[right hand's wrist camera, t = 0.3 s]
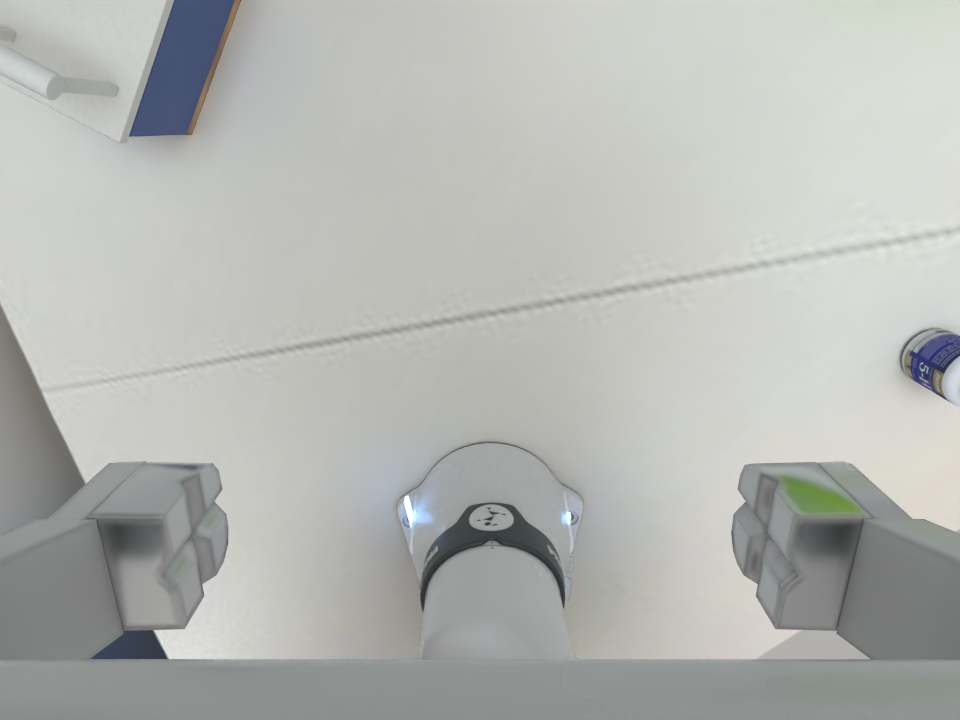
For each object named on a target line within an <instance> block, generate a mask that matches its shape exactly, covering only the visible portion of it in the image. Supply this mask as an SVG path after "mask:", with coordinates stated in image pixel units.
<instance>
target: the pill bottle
mask: <svg viewBox="0 0 960 720" xmlns="http://www.w3.org/2000/svg"><path fill="white" fill-rule="evenodd" d="M902 366H903V369H904V372H905V373H906V374H907V376H908V377H910V378H911V379H912V380H914V381H916V382H917V383H919V384H921V385H922V386H924V387H926V388H927V389H929V390H931V391H932V392H934V393H936V394H937V395H939V396H941V397H942V398H944V399H946V400H947V401H949V402H951V403H952V404H954V405H956V406H959V407H960V336H959V335H956V334H954V333H952V332H949V331H947V330H942V329H933V330H928V331H925V332H923V333H921V334H919V335H918V336H916V337H915V338H914V339H912V340H911V341H910V343H909V344H908V345H907V347H906V348H905V350H904V353H903V356H902Z"/></svg>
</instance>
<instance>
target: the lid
mask: <svg viewBox="0 0 960 720" xmlns="http://www.w3.org/2000/svg"><path fill="white" fill-rule="evenodd" d="M173 2H174V0H0V82H2V83H4V84H6V85H8V86H10V87H12V88H14V89H16V90H18V91H20V92H22V93H24V94H25V95H27V96H29V97H31V98H33V99H35V100H37V101H39V102H41V103H43V104H45V105H47V106H49V107H51V108H52V109H54V110H56V111H58V112H60V113H62V114H64V115H66V116H68V117H70V118H72V119H74V120H76V121H78V122H79V123H81V124H83V125H85V126H87V127H89V128H91V129H93V130H95V131H97V132H99V133H101V134H103V135H105V136H106V137H108V138H110V139H112V140H114V141H116V142H118V143H126V142H127V140H128V137H129V134H130V131H131V128H132V125H133V122H134V119H135V116H136V113H137V110H138V107H139V104H140V101H141V98H142V95H143V92H144V89H145V86H146V83H147V80H148V77H149V74H150V71H151V68H152V65H153V62H154V59H155V56H156V53H157V50H158V47H159V44H160V41H161V38H162V35H163V32H164V29H165V26H166V23H167V20H168V17H169V14H170V11H171V8H172V5H173Z"/></svg>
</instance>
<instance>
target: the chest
mask: <svg viewBox="0 0 960 720" xmlns="http://www.w3.org/2000/svg"><path fill="white" fill-rule="evenodd" d="M240 1H241V0H174V2H173V5H172V8H171V11H170V14H169V17H168V20H167V23H166V26H165V29H164V32H163V35H162V38H161V41H160V44H159V47H158V50H157V53H156V56H155V59H154V62H153V65H152V68H151V71H150V74H149V77H148V80H147V83H146V86H145V89H144V92H143V95H142V98H141V101H140V104H139V107H138V110H137V113H136V116H135V119H134V122H133V125H132V128H131V131H130V134H129V137H131V136H158V135H184V134H186V135H192V132H193V130H194V127H195V124H196V121H197V119H198V116H199V113H200V110H201V108H202V105H203V102H204V99H205V97H206V94H207V91H208V89H209V86H210V83H211V80H212V78H213V75H214V72H215V69H216V67H217V64H218V61H219V58H220V56H221V53H222V50H223V47H224V45H225V42H226V39H227V37H228V34H229V31H230V28H231V26H232V23H233V20H234V17H235V15H236V12H237V9H238V6H239V4H240Z"/></svg>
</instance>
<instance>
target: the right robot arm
mask: <svg viewBox="0 0 960 720" xmlns="http://www.w3.org/2000/svg"><path fill="white" fill-rule="evenodd" d="M221 490H222V485H221V480H220V475H219V470H218V469H217V468H216V467H215V466H214V465H213V463H164V462H149V463H147V462H116V463H109V464H108V465H107V466H106V467H104V468H103V469H102V470H101V471H100V472H99V473H98V474H97V475H96V476H94V477H93V478H92V479H91V480H90V481H89V482H88V483H87V484H86V485H84V486H83V487H82V488H81V489H80V490H79V491H78V492H77V493H76V494H74V495H73V496H72V497H71V498H70V499H69V500H68V501H67V502H66V503H65V504H63V505H62V506H61V507H60V508H59V509H58V510H57V511H56V512H55V513H53V514H52V515H51V516H50V517H49V518H48V519H35V520H33V521H30V522H28V523H26V524H23V525H21V526H18V527H16V528H13V529H11V530H8V531H6V532H3V533H1V534H0V720H960V534H959V533H957V532H954V531H952V530H949V529H947V528H944V527H942V526H939V525H937V524H934V523H932V522H930V521H927V520H925V519H912V518H911V517H910V516H909V515H908V514H907V513H906V512H904V511H903V510H902V509H901V508H900V507H899V506H898V505H897V504H896V503H894V502H893V501H892V500H891V499H890V498H889V497H888V496H887V495H886V494H885V493H883V492H882V491H881V490H880V489H879V488H878V487H877V486H876V485H875V484H873V483H872V482H871V481H870V480H869V479H868V478H867V477H866V476H865V475H863V474H862V473H861V472H860V471H859V470H858V469H857V468H856V467H855V466H854V465H852V464H850V463H847V462H843V461H840V462H817V463H816V462H802V463H760V464H748V465H744V468H743V470H742V472H741V474H740V479H739V485H738V490H739V492H740V493H741V495H742V497H743V498H744V500H745V501H746V502H745V503H744V504H743V505H742V506H741V507H740V508H739V509H738V510H737V511H736V512H735V513H734V516H733V524H732V532H731V534H732V544H733V552H734V555H735V558H736V561H737V564H738V566H739V568H740V569H741V571H742V573H743V575H744V576H746V577H747V578H749V579H751V580H752V581H754V582H755V583H757V584H758V587H757V592H756V597H757V599H758V600H759V602H760V604H761V605H762V607H763V609H764V610H765V612H766V614H767V615H768V617H769V619H770V620H771V622H772V624H773V626H774V627H775V629H793V630H830V631H837V634H838V635H839V636H841V637H842V638H844V639H845V640H846V641H847V642H849V643H850V644H851V645H853V646H854V647H855V648H857V649H858V650H859V651H861V652H862V653H863V654H865V655H866V656H867V657H869V658H870V659H577V657H576V654H575V652H574V648H573V645H572V642H571V638H570V635H569V632H568V628H567V624H566V620H565V615H564V611H563V609H564V604H565V601H566V602H567V601H569V599H570V595H571V579H570V578H569V577H565V576H566V572H572V571H573V567H574V559H573V557H571V554H572V551H573V550H574V543H575V539H576V536H577V532H578V528H579V525H580V521H581V517H582V514H583V509H584V506H583V499H582V498H581V496H580V495H578V494H577V493H576V492H574V491H573V490H571V489H569V488H567V487H566V486H564V485H562V484H561V483H560V482H559V481H558V480H557V479H556V478H555V477H554V475H553V474H552V472H551V471H550V470H549V469H548V467H547V466H546V465H545V464H544V463H543V462H542V461H541V460H539V459H538V458H537V457H535V456H534V455H532V454H531V453H529V452H527V451H525V450H523V449H520V448H518V447H515V446H511V445H507V444H500V443H481V444H475V445H470V446H467V447H464V448H461V449H459V450H456V451H454V452H452V453H451V454H449V455H447V456H446V457H444V458H443V459H442V460H441V461H440V462H438V463H437V464H436V465H435V466H434V467H433V469H432V470H431V471H430V473H429V474H428V475H427V477H426V478H425V480H424V481H423V482H422V484H421V485H420V486H419V487H417V488H415V489H414V490H412V491H410V492H409V493H407V494H406V495H404V496H403V497H402V498H401V499H400V500H399V502H398V505H397V513H398V516H399V520H400V523H401V526H402V530H403V533H404V536H405V539H406V543H407V546H408V549H409V552H410V556H411V559H412V562H413V565H414V569H415V572H416V575H417V579H418V582H419V585H420V589H421V593H420V596H421V606H422V610H423V621H422V630H421V639H420V648H419V657H418V659H90V658H91V657H93V656H94V655H95V654H97V653H98V652H99V651H101V650H102V649H103V648H105V647H106V646H107V645H109V644H110V643H111V642H113V641H114V640H116V639H117V638H118V637H120V636H121V635H122V634H123V631H130V630H165V629H185V627H186V626H187V624H188V622H189V621H190V619H191V617H192V616H193V614H194V612H195V610H196V609H197V607H198V605H199V604H200V602H201V600H202V599H203V597H204V592H203V587H202V584H203V583H205V582H206V581H208V580H209V579H211V578H213V577H214V576H216V575H217V573H218V571H219V569H220V567H221V566H222V564H223V562H224V558H225V554H226V550H227V546H228V522H227V516H226V513H225V512H224V511H223V510H222V509H221V508H220V507H219V506H218V505H217V504H216V503H215V502H214V501H215V500H216V498H217V497H218V495H219V493H220V492H221ZM571 514H572V516H571Z"/></svg>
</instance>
